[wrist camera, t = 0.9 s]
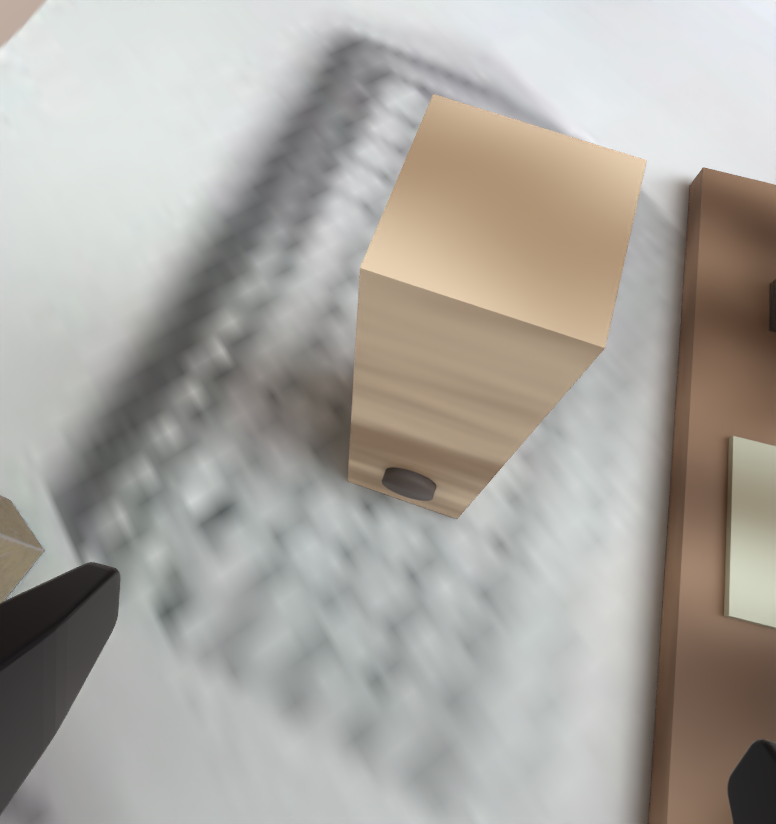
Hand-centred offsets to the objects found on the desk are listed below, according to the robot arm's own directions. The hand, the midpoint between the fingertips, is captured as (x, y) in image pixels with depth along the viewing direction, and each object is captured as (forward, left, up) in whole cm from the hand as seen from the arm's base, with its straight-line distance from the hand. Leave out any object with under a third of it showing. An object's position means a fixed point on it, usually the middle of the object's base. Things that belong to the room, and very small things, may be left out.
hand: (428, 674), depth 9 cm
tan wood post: (+8, +1, -14) cm, 16 cm away
